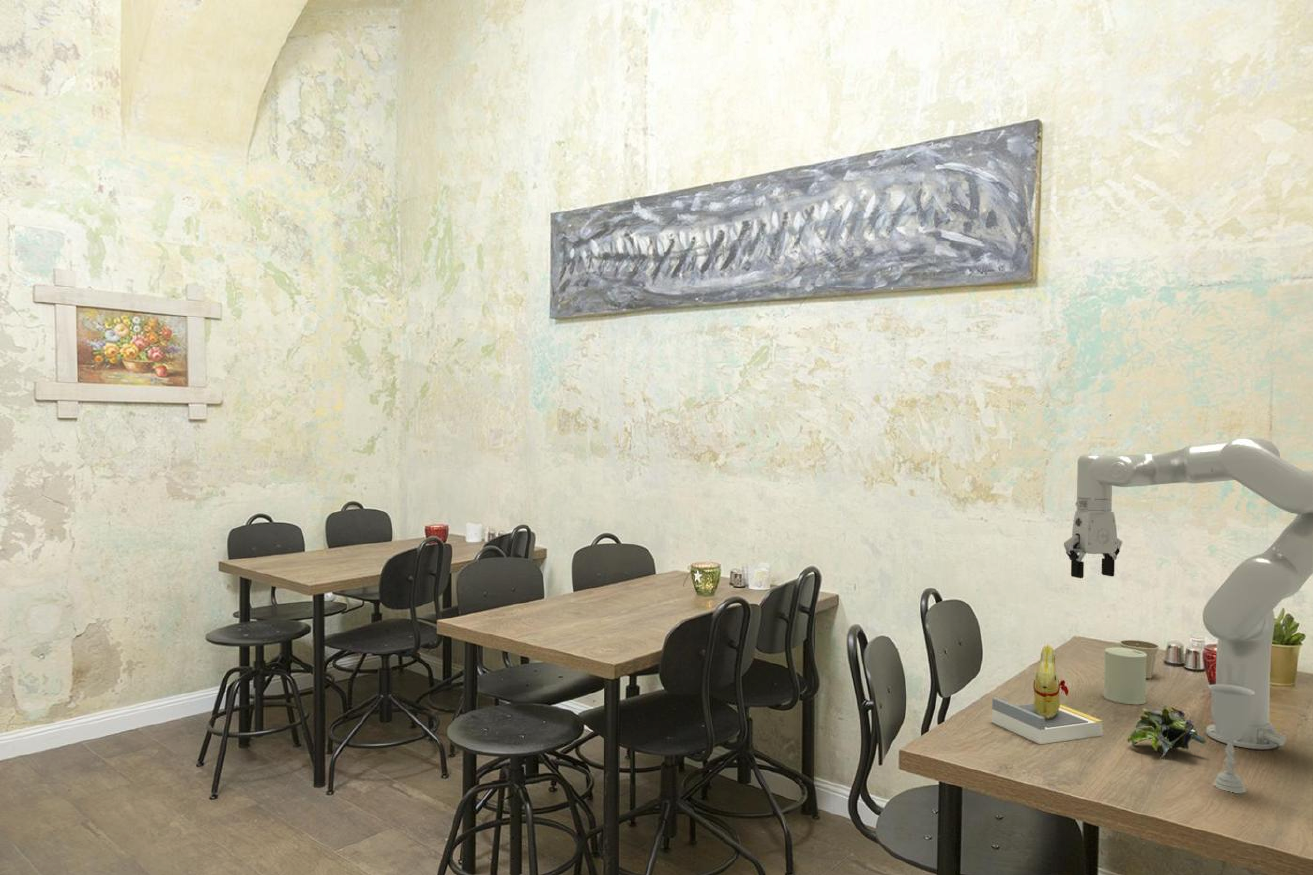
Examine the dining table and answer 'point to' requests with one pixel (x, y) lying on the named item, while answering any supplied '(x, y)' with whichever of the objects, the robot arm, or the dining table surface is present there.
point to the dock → (1045, 723)
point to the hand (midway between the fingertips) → (1092, 576)
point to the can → (1125, 676)
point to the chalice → (1230, 727)
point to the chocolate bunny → (1047, 685)
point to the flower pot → (1146, 648)
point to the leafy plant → (1165, 729)
